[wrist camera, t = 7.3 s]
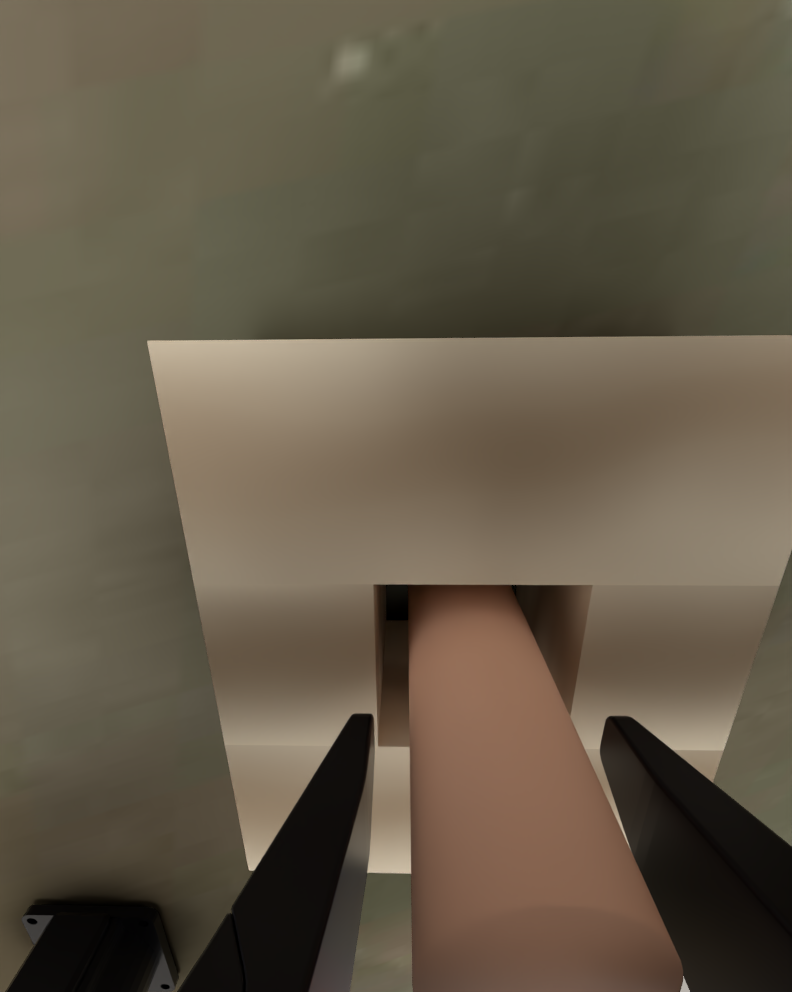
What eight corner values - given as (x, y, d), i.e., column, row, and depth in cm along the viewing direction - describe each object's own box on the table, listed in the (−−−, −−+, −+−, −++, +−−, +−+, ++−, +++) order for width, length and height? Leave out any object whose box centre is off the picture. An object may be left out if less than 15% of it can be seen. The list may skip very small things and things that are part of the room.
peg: (499, 521, 14) (713, 908, 4) (492, 600, 15) (654, 1058, 5) (407, 521, 14) (413, 901, 4) (407, 600, 15) (411, 1051, 5)
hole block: (599, 724, 16) (680, 878, 11) (293, 720, 16) (249, 870, 12) (676, 341, 12) (864, 334, 7) (250, 345, 12) (146, 340, 7)
